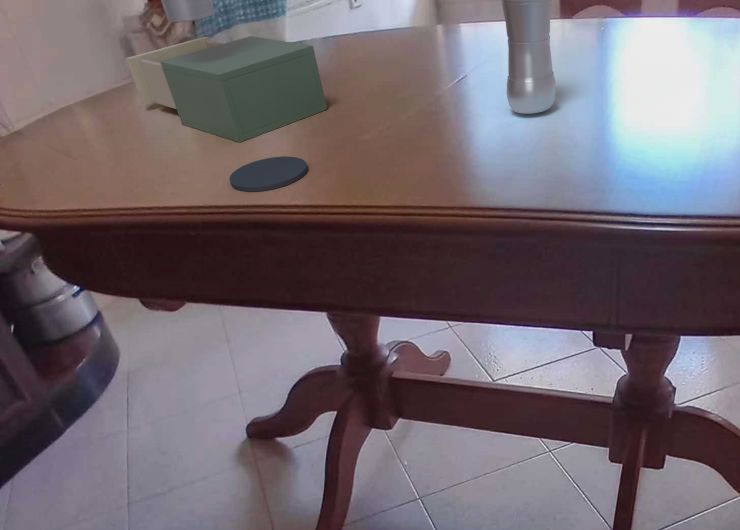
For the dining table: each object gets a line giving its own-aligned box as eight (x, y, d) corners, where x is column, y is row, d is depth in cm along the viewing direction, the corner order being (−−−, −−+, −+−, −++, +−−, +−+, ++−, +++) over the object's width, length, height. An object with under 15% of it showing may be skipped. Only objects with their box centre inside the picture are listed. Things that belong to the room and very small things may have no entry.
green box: (181, 124, 103) (159, 61, 97) (267, 95, 111) (250, 36, 106) (239, 142, 93) (218, 74, 88) (327, 109, 102) (312, 45, 96)
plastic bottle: (499, 118, 91) (485, -58, 79) (520, 101, 96) (509, -67, 84) (545, 121, 89) (537, -60, 77) (564, 103, 94) (559, -69, 82)
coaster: (258, 198, 77) (256, 193, 77) (216, 181, 83) (214, 176, 82) (323, 169, 83) (321, 164, 82) (279, 156, 88) (278, 151, 87)
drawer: (130, 100, 112) (113, 55, 108) (206, 77, 120) (192, 34, 116) (188, 118, 101) (170, 68, 97) (267, 91, 109) (254, 44, 105)
